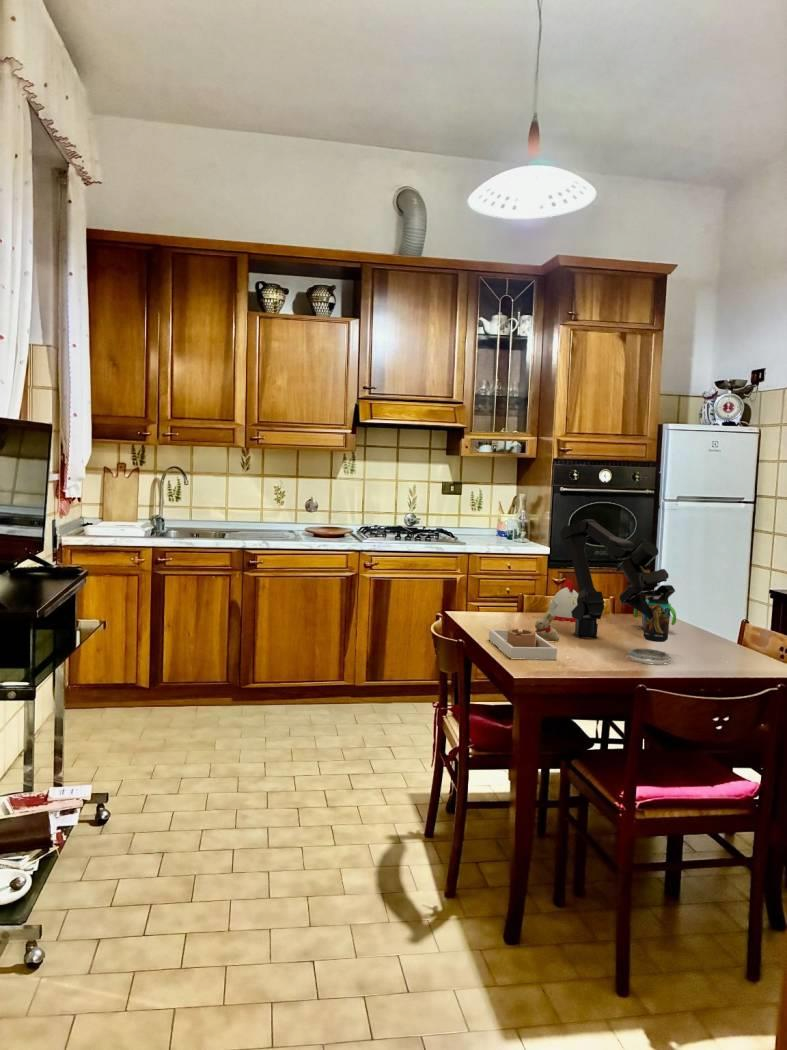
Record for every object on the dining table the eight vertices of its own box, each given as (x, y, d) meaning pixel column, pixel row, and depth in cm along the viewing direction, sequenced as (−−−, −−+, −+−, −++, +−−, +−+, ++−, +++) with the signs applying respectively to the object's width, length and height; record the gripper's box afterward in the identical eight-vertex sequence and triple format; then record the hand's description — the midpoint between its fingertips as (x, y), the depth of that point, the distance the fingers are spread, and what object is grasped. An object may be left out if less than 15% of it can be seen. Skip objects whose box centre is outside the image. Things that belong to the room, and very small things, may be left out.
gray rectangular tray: (510, 659, 225) (511, 647, 224) (488, 640, 248) (489, 629, 248) (556, 660, 227) (557, 648, 227) (530, 640, 250) (530, 630, 250)
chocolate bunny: (535, 637, 256) (537, 607, 255) (559, 640, 254) (561, 610, 253) (533, 641, 251) (535, 610, 250) (558, 643, 249) (560, 613, 248)
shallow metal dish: (638, 664, 226) (639, 658, 226) (620, 654, 238) (620, 647, 238) (678, 665, 228) (678, 658, 228) (657, 654, 240) (658, 648, 240)
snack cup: (681, 633, 275) (683, 605, 274) (663, 636, 269) (665, 607, 268) (644, 624, 287) (646, 597, 287) (626, 627, 281) (628, 599, 280)
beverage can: (645, 641, 230) (649, 601, 229) (641, 636, 237) (644, 597, 236) (669, 643, 230) (673, 603, 228) (664, 638, 236) (668, 599, 235)
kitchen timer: (556, 622, 284) (559, 582, 283) (541, 614, 298) (544, 576, 296) (591, 622, 287) (594, 582, 286) (575, 614, 301) (577, 576, 299)
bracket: (533, 659, 228) (534, 636, 227) (504, 656, 230) (506, 633, 229) (536, 645, 245) (538, 624, 245) (510, 643, 247) (511, 621, 246)
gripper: (629, 560, 230) (655, 604, 222) (673, 559, 239) (699, 601, 231) (608, 581, 238) (632, 624, 229) (651, 580, 247) (675, 621, 238)
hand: (660, 617), depth 232 cm, fingers closed on beverage can, 7 cm apart
